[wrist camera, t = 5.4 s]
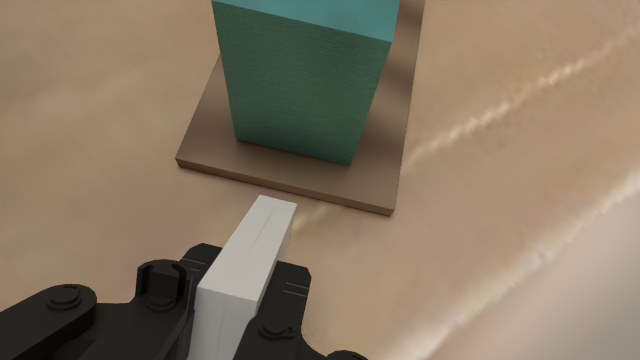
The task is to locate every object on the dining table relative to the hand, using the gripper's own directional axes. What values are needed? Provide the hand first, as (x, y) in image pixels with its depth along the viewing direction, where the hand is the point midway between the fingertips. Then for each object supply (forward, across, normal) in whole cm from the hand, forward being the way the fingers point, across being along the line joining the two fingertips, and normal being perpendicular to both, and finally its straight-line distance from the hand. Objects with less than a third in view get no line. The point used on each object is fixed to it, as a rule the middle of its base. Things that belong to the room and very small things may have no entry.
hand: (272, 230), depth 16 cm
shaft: (+16, -1, +8) cm, 18 cm away
